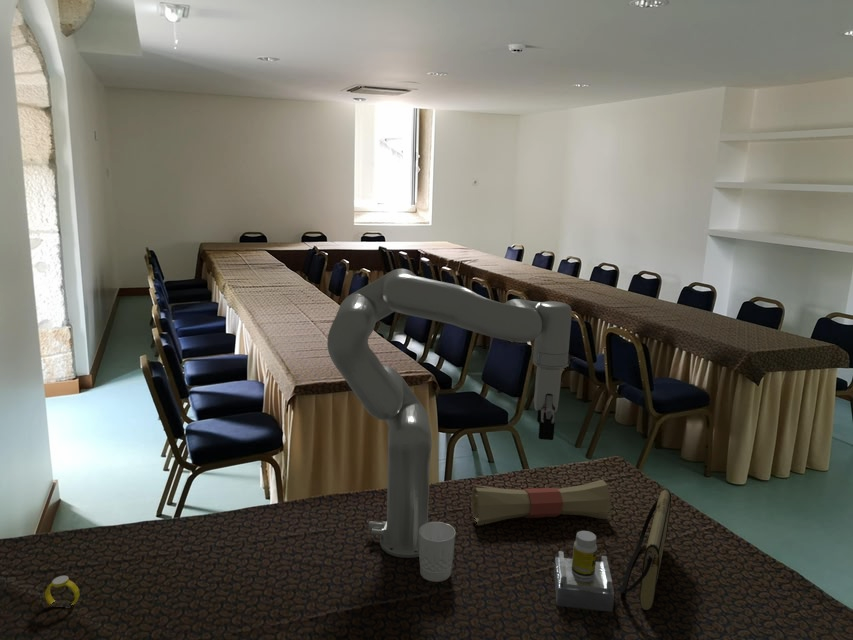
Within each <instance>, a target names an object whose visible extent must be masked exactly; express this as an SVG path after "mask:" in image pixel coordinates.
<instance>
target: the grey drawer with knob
mask: <svg viewBox="0 0 853 640" xmlns="http://www.w3.org/2000/svg"><path fill="white" fill-rule="evenodd" d="M557 554H558V555H557V556H554V557H555V558H554V565H553V566H554V567H553V579H554V589H555V601H556V607H564V608H565V607H566V608H574V609H581V610H582V609H584V610H590V611H591V610H592V611H601V612H610V613H613V611H614V602H615V601H614V600H615V592H614V591H615V590H614V586H613V579H612V575H611V570H610V567H609V562H608V557H607V555H601V557H600V561H598V560H596V565H595V574H594V576H593V577H591V578H580V577H578V576H576V575H575V574H574V573H573V572H572V558H569V557H567V558H566V557H564V556H565V555H564V551H561V550H559V551H558V553H557Z"/></svg>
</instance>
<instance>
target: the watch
mask: <svg viewBox="0 0 853 640" xmlns="http://www.w3.org/2000/svg"><path fill="white" fill-rule="evenodd" d="M64 586H65V587H67V588H69V589H70V591H72V592H73V597H74V599H73V601H72V602H73V603H72V602H71V603H72V604H71V605H74V604H76V603H77V602H78V601H79V598H80V597H81V595H80V589H79V587H78V585H77V584H76V583H75V582H74V581H71V580H70V579H69V576H68V575H60V576H57V577H55V578H54V579H53V580H52V581H51V583H50V584H49V585H48V586H47V588H46V589H45V591H44V594H45V595H44V597H45V601H46V603H47V604H48V605H49V606H51V605H50V604H52V603H53V602H55V601H56V600H55V599H54V597H53V596H52V593H51V588H52V587H54V588H62V587H64ZM74 606H75V605H74Z"/></svg>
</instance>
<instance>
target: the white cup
mask: <svg viewBox="0 0 853 640" xmlns="http://www.w3.org/2000/svg"><path fill="white" fill-rule="evenodd" d="M456 533H457V532H456V530H455V528H454V526H452V525H451V524H449V523H446V522H442V521H428V523H425V524H423V525H422V526H421V527H420V528H419V560H418V561H419V571H420V572H419V573H420V576H421V577H422V578H423V579H424V580H426V581H429V582H434V583H437V582H438V583H440V582H444V581H446V580H449V578H450V576H451V575H452V567H453V562H454V552H455V542H456Z"/></svg>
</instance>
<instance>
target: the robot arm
mask: <svg viewBox="0 0 853 640" xmlns="http://www.w3.org/2000/svg"><path fill="white" fill-rule="evenodd" d="M395 312H396V313H398V314H403V315H406V316H412V317H416V318H421V319H427V320H430V321H435V322H439V323H445V324H449V325H453V326H456V327H458V328H461V329H463V330H467V331H470V332H474V333H476V334H480V335H484V336H486V337H487V336H488V337H490V338H494V339H500V340H503V341H509V342H513V343H514V342H515V343H519V344H520V343H521V344H522V343H523V344H524V343H529V342H531V341H534V344H533V356H532V359H533V360H532V364H533V365H534V366H536V373H535V382H534V383H535V384H534V395H533V396H534V397H533V403H534V404H533V405H534V410H535V411H536V412H537V418H536V419H537V423H538V425H539V426H538V439H539V440H546V441H553V440H554V435H555V413H556V412H557V411H558V406H559V402H560V391H561V382H562V381H561V379H562V372H563V371H562V370H563V369H565V368H568V362H569V361H568V360H569V350H570V337H571V328H572V327H571V326H572V316H573V314H572V313H573V311H572V307H571V306H570V305H569V304H567V303H565V302H562V301H552V300H550V301H548V300H547V301H533V300H528V299H521V298H513V299H510V300H507V301H506V302H499V301H496V300H493V299H490V298H487V297H484V296H482V295H480V294H478V293H476V292H475V291H473V290H471V289H469V288H467V287H465V286H461V284H460V285H459V284H455V283H449V282H447V281H446V282H445V281H439V280H436V279H432V278H426V277H423V276H417V274H415V273H414V272H413V271H412V270H409V269H406V268H396V269H393V270H391V271H389V272H387V273H386V274H384V275H382V276H380V277H379V278H377V279H375V280H373V281H372V282H370V283H369V284H367V285H365V286H363V287H361V288H360V289H357V290H356V291H354V292H352V293H351V294H349V295H347V297H345V298H344V299H343V301H342V302H341V304H340V305H339V307H338V310H337V312H336V315H335V317H334V319H333V321H332V323H331V326H330V329H329V332H328V334H327V351H328V355H329V357H330V359H331V361H332V363H333V364H334V366H335V368H336V369H337V370H338V372H339V373H340V374H341V376H342V377H343V379H344V380H345V381H346V384H348V386H349V388H350V390H352V393H354V394H355V396H356V397H357V399H358V400H359V401H360V402H359V403H361V404H362V406H363V408H364V409H365V410H366V411H367V413H368V414H369V415H370V416H371V417H373V418H375V419H378V420H382V421H384V422H385V423H386V424H387V426H388V428H387V432H388V433H387V486H386V487H387V488H386V489H387V491H386V492H387V496H386V521H384V520H383V521H382V522H379V521H373V520H372V521H369V522H368V527H367V528H368V530H369V531H371V532H370V533H371V535H372V536H379V545H380V548H381V549H382V550H383V551H384V553H387V554H388V555H390V556H393V557H396V558H404V559H412V558H418V557H419V528H420V527H421V526H422V525H423V524H425V523H429V504H430V503H429V497H430V496H429V495H430V474H431V473H430V469H431V458H432V457H431V456H432V445H433V440H432V439H433V438H432V437H433V436H432V431H431V425H430V420H429V415H428V413H427V411H426V409H425V407H424V406H423V404H422V403H421V401H420V400H419V399H418V397H417V396H416V394H415V392H414V391H413V390H412V389H411V387H410V386H409V384H408V383H407V382H406V380H405V379H404V377H403V376H402V375H401V373H399V372H398V370H396V369H395V368H393V367H391V366H387V365H383V363H382V362H381V361H380V359H379V358H378V356H377V354H375V352H374V351H373V350H372V349H371V348H370V346H369V338H370V336H371V335H372V333H373V332H374V329H375V327H376V323H377V322H379V321H380V320H382V319H384V318H386V317H388V316H390V315H391V314H392V313H395Z"/></svg>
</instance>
